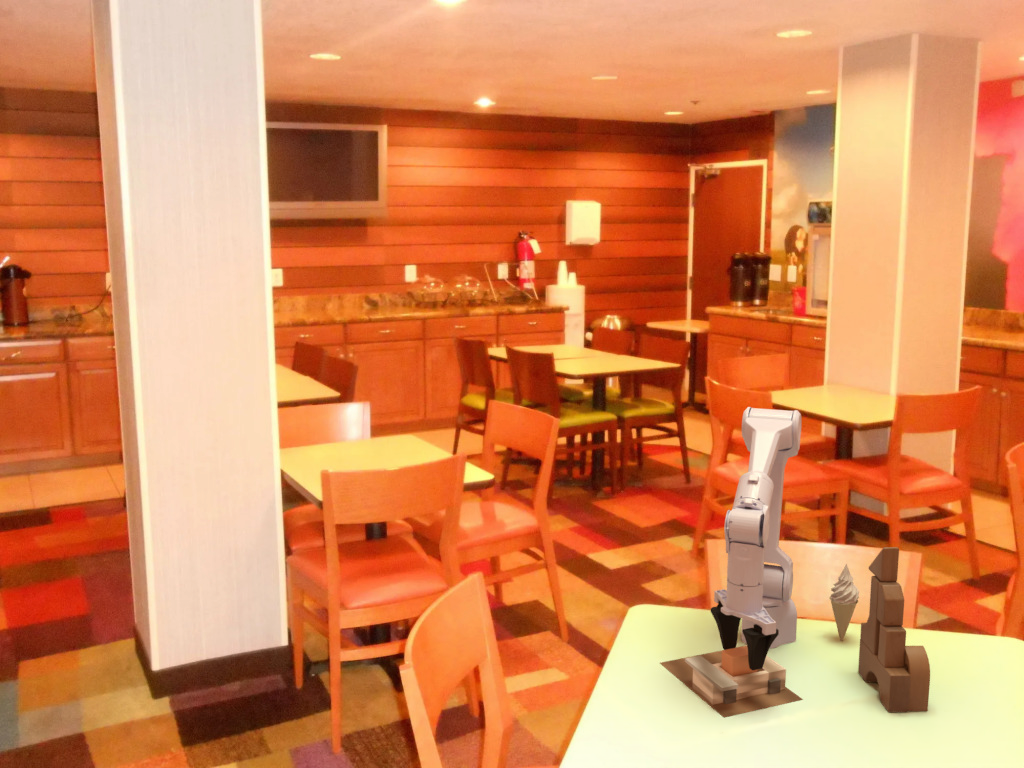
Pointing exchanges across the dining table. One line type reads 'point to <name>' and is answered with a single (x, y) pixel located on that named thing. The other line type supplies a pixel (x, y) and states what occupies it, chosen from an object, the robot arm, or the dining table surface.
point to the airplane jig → (732, 684)
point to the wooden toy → (892, 642)
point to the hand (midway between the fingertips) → (742, 658)
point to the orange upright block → (736, 661)
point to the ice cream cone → (844, 601)
